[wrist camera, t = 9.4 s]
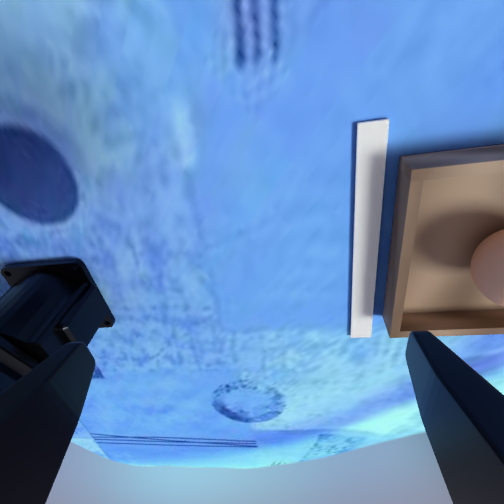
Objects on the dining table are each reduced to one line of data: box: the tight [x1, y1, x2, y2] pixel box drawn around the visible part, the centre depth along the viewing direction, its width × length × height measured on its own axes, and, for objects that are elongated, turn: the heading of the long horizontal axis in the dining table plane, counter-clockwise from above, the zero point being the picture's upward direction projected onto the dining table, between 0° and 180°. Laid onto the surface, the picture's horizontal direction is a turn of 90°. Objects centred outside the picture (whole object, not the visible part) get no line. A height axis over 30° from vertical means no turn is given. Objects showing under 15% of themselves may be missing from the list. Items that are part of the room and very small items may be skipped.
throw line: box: [350, 119, 389, 338], centre depth 21 cm, size 2×16×1 cm, turn 9°
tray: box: [383, 144, 504, 338], centre depth 19 cm, size 12×12×2 cm
